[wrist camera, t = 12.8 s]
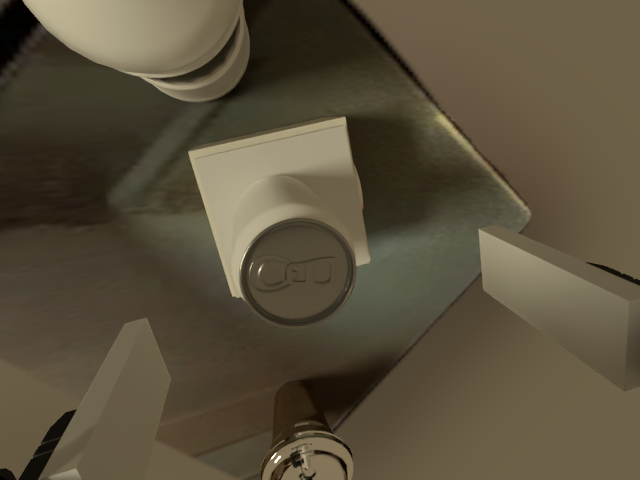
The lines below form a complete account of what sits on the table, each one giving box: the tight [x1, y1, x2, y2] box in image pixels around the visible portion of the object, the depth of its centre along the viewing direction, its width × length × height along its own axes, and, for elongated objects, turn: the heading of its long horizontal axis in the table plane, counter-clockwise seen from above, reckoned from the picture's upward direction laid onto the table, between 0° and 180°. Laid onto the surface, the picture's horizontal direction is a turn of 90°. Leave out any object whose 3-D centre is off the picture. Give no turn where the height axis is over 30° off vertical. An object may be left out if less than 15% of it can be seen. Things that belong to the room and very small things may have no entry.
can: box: [231, 176, 356, 329], centre depth 25 cm, size 6×6×12 cm
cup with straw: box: [260, 381, 354, 480], centre depth 36 cm, size 8×9×20 cm
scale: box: [188, 117, 371, 298], centre depth 34 cm, size 12×13×9 cm
